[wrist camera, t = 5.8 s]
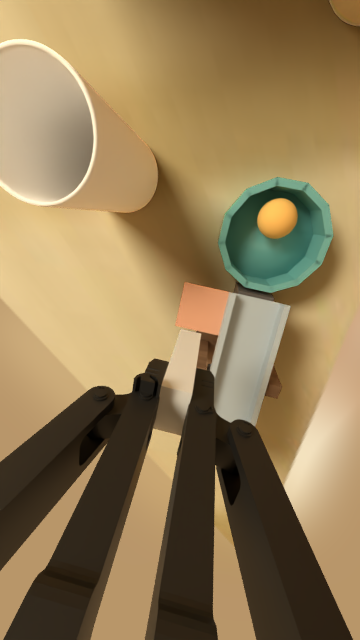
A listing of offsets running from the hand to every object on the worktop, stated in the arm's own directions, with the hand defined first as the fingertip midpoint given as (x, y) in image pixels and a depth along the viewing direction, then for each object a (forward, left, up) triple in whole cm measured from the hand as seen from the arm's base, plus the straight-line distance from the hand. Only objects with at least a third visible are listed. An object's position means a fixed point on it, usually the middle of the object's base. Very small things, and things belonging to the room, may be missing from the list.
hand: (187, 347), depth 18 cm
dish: (-8, +6, -17) cm, 19 cm away
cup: (-11, -12, -17) cm, 24 cm away
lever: (+8, +4, -11) cm, 14 cm away
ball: (-10, +6, -14) cm, 18 cm away
